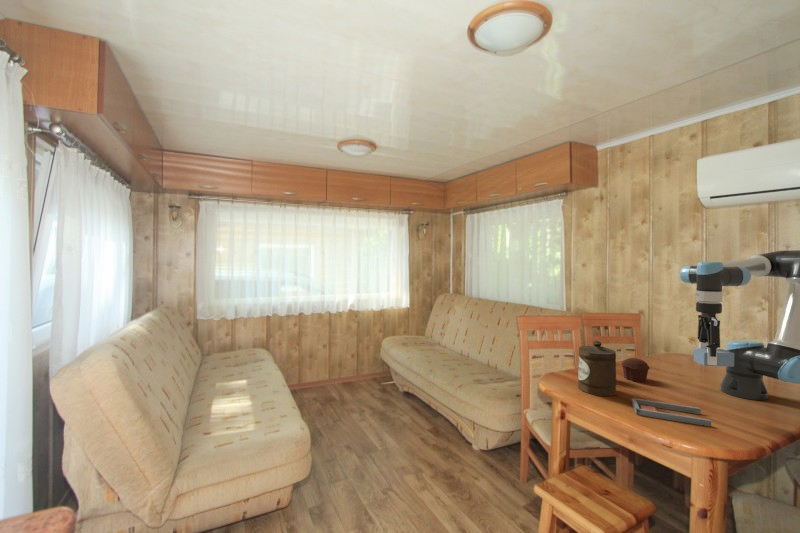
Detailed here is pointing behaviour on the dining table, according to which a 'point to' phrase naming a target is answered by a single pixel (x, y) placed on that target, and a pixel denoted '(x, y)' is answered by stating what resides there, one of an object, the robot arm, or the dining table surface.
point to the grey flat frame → (650, 411)
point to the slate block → (722, 357)
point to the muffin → (635, 369)
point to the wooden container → (597, 370)
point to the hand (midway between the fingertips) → (707, 361)
